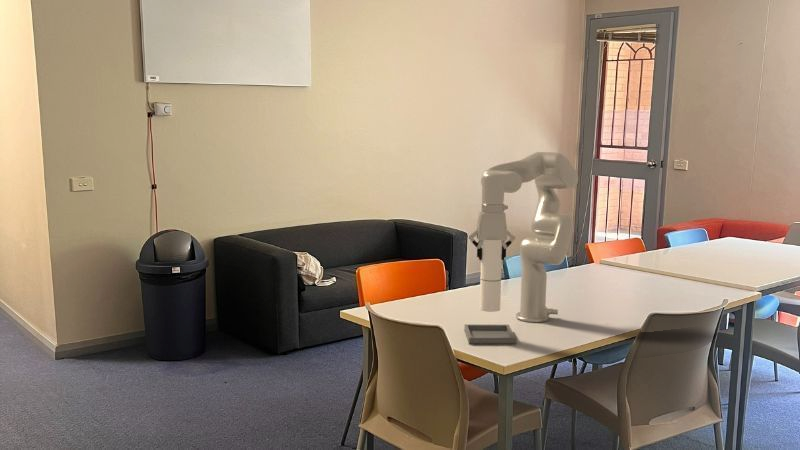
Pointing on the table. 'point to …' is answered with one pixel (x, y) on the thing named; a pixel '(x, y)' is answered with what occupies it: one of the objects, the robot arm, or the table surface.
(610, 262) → the table surface
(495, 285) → the cylindrical container
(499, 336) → the desk tray
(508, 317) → the table surface
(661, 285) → the table surface
